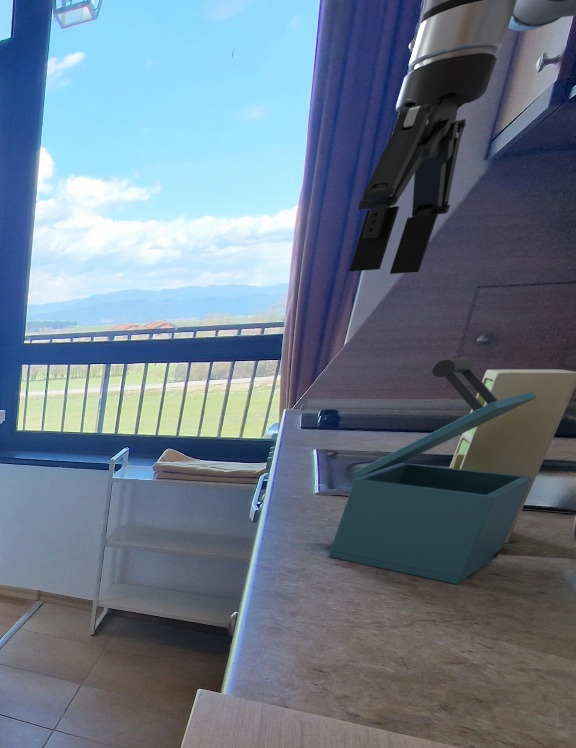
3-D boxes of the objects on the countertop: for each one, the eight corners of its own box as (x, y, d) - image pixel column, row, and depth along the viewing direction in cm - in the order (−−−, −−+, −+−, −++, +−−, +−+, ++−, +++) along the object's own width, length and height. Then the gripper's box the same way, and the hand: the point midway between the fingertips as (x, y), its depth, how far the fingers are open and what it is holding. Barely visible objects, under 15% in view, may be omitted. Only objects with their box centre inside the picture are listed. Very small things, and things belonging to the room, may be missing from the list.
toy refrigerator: (417, 526, 88) (479, 368, 80) (493, 534, 84) (566, 368, 76) (423, 540, 83) (490, 372, 74) (504, 550, 78) (584, 372, 70)
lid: (536, 397, 71) (491, 345, 73) (497, 408, 63) (448, 350, 65) (404, 461, 81) (367, 414, 83) (357, 477, 74) (318, 425, 76)
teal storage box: (497, 556, 76) (533, 477, 72) (456, 584, 69) (494, 497, 65) (375, 534, 85) (401, 462, 82) (327, 556, 78) (354, 478, 74)
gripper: (441, 91, 80) (383, 276, 89) (367, 54, 68) (307, 272, 77) (527, 71, 74) (456, 271, 83) (462, 26, 62) (387, 265, 71)
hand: (384, 272), depth 80 cm, fingers open, 13 cm apart
